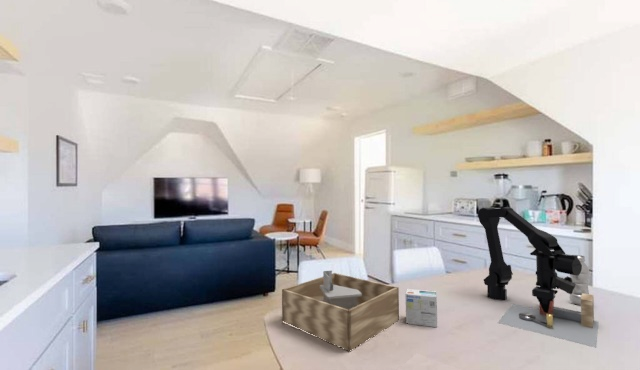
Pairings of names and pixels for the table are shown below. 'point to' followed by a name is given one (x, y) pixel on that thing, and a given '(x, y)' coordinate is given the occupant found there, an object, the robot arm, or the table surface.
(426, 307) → the light bulb box
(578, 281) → the plastic bottle
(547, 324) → the metal measuring spoon
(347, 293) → the architectural model
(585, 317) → the tan rectangular block
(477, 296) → the table surface
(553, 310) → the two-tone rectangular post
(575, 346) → the table surface
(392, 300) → the wooden crate
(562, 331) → the board
